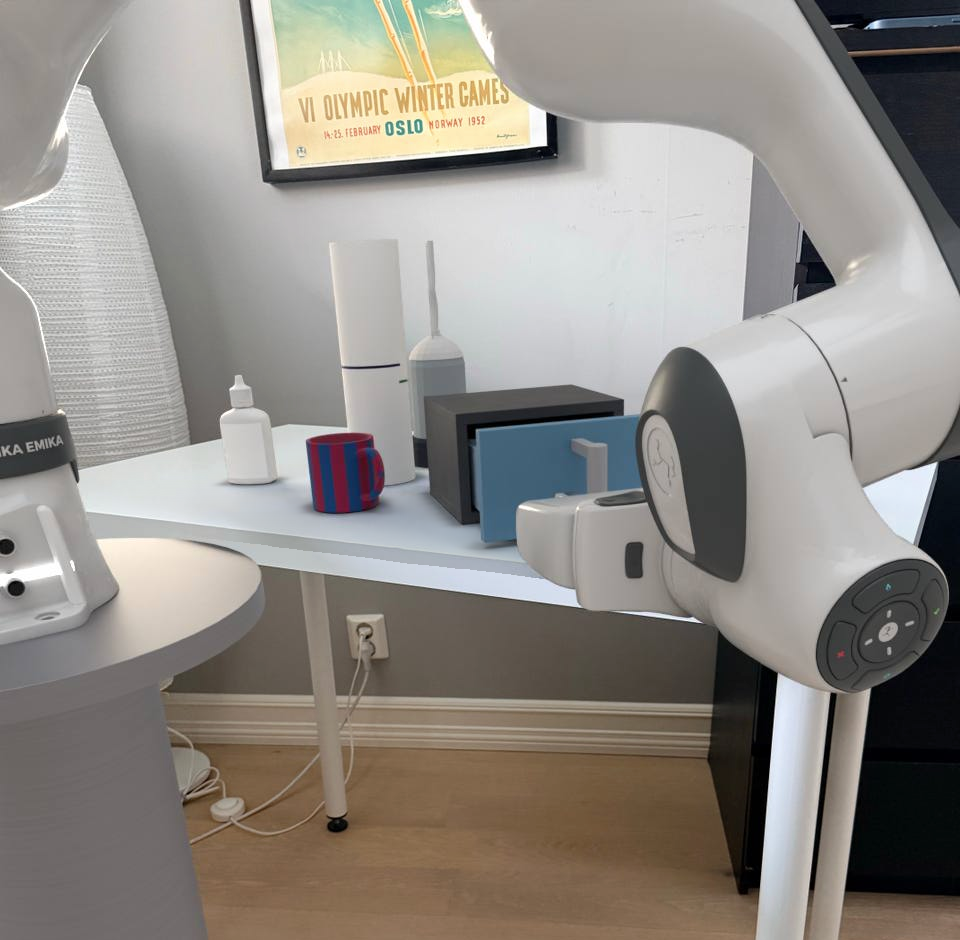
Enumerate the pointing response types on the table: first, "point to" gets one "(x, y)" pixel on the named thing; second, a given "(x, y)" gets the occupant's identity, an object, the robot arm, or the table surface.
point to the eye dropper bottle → (247, 439)
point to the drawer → (547, 465)
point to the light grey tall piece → (432, 368)
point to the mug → (344, 472)
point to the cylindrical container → (374, 349)
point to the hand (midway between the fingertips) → (624, 496)
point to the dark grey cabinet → (466, 412)
